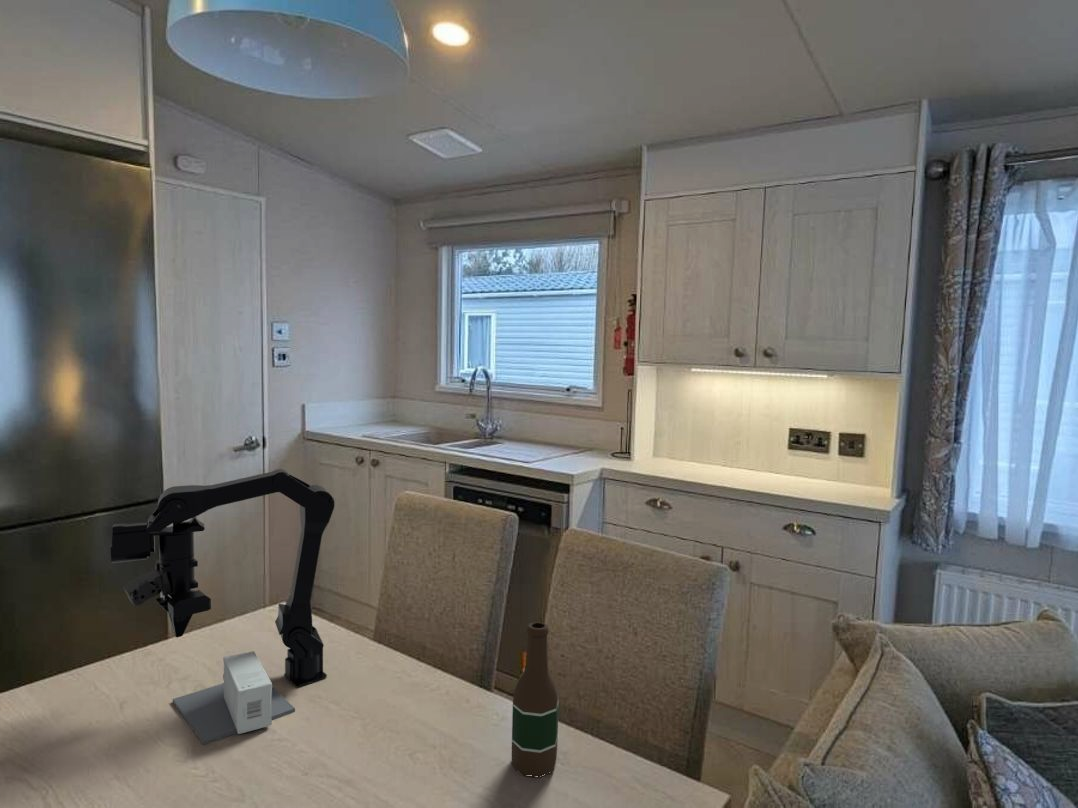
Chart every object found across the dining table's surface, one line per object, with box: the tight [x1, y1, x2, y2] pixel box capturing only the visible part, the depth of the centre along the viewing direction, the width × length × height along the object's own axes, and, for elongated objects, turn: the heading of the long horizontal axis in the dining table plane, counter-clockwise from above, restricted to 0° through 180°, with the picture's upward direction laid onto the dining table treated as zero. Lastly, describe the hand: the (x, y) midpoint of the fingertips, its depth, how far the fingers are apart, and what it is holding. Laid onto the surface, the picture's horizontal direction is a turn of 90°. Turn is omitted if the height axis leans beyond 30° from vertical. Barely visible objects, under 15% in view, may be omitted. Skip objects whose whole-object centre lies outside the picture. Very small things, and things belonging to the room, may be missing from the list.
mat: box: [172, 682, 296, 745], centre depth 127 cm, size 16×18×1 cm
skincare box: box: [222, 650, 273, 735], centre depth 124 cm, size 8×6×15 cm
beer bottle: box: [511, 621, 560, 778], centre depth 111 cm, size 8×8×24 cm
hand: (178, 636), depth 126 cm, fingers closed
